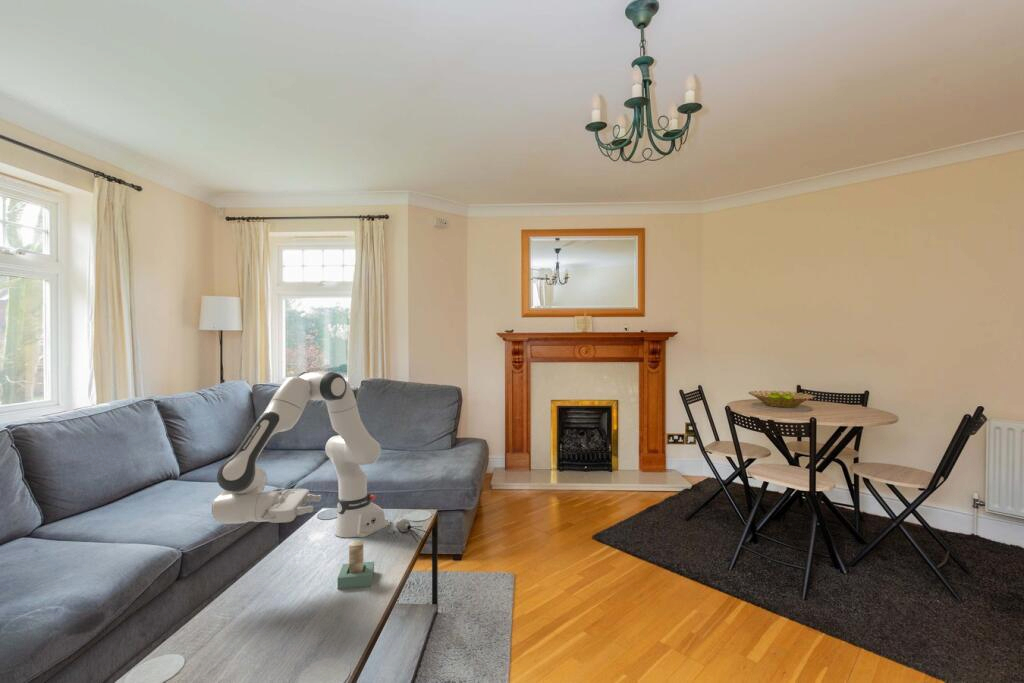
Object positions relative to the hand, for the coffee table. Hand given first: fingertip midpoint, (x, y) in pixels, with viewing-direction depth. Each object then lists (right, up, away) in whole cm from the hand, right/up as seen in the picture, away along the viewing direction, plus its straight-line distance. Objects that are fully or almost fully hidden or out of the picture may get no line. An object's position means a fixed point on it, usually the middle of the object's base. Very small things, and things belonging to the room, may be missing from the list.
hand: (317, 503), depth 143 cm
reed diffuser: (+22, -27, +35) cm, 49 cm away
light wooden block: (+12, -26, +2) cm, 29 cm away
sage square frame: (+12, -26, +2) cm, 29 cm away
